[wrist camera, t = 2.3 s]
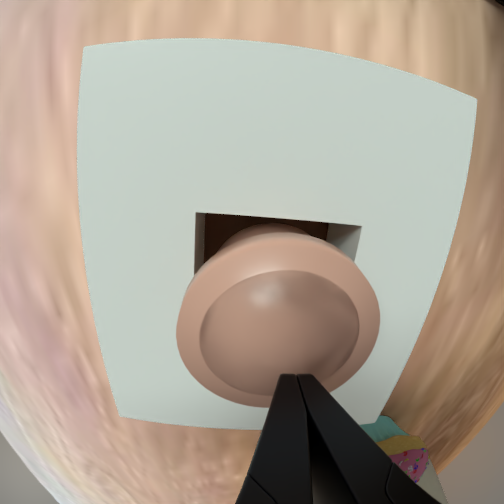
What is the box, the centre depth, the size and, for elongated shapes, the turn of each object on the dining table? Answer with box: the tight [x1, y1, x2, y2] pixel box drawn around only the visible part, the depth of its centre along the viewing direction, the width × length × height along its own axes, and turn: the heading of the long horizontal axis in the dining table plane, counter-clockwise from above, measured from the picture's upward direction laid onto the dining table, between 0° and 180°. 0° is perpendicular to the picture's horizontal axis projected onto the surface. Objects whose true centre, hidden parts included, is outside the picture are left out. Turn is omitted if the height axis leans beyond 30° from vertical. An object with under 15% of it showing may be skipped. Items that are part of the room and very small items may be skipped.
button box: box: [77, 38, 477, 430], centre depth 14 cm, size 15×18×4 cm
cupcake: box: [360, 416, 430, 483], centre depth 17 cm, size 9×8×12 cm
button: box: [176, 223, 380, 408], centre depth 11 cm, size 6×6×4 cm
